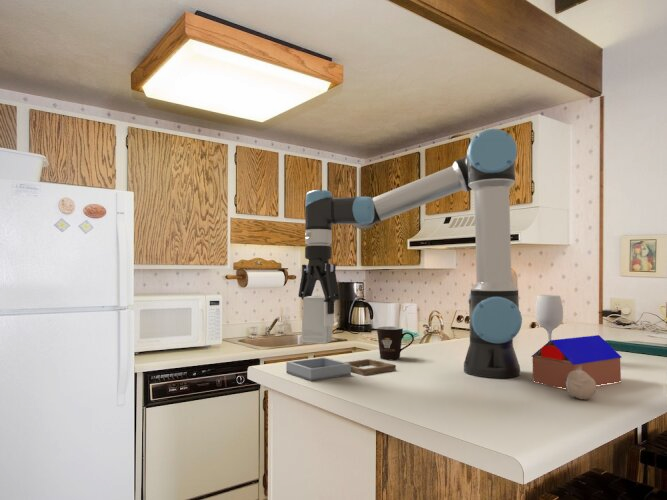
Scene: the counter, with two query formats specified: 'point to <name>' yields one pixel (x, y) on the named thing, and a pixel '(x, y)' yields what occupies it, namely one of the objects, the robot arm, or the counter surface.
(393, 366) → the walnut collar
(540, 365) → the house
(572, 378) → the garlic bulb
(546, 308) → the wineglass
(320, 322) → the supplement box
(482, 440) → the counter surface
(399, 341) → the coffee mug
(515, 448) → the counter surface
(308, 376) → the grey tray
